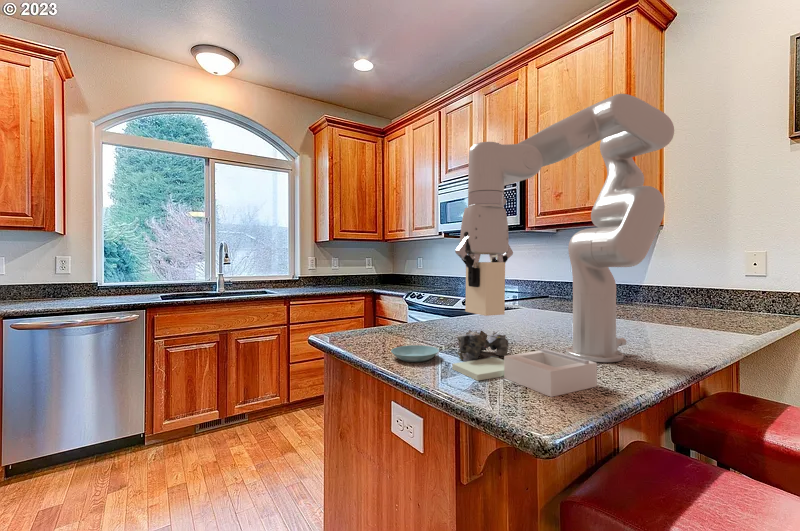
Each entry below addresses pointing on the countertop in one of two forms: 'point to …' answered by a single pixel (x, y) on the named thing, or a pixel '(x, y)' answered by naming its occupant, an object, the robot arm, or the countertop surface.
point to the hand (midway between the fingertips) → (484, 285)
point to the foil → (480, 344)
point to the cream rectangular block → (487, 290)
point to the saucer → (415, 353)
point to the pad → (481, 368)
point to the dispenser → (550, 372)
